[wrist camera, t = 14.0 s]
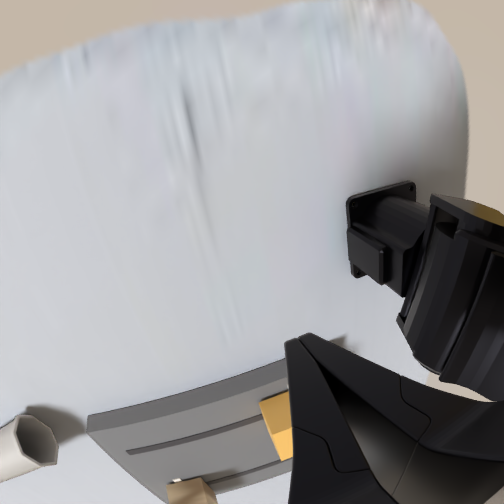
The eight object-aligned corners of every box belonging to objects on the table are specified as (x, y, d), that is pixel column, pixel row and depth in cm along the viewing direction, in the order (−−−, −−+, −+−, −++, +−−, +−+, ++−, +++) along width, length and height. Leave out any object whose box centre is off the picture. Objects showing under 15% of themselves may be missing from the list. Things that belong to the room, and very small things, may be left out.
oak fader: (200, 477, 27) (207, 504, 24) (214, 492, 29) (221, 516, 26) (165, 485, 27) (170, 511, 23) (182, 499, 29) (188, 523, 26)
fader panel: (324, 342, 27) (335, 357, 25) (330, 440, 35) (337, 452, 33) (87, 415, 23) (86, 433, 21) (165, 492, 31) (168, 505, 29)
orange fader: (304, 385, 25) (321, 415, 22) (308, 416, 27) (324, 443, 24) (258, 402, 24) (272, 434, 21) (268, 432, 26) (281, 461, 23)
